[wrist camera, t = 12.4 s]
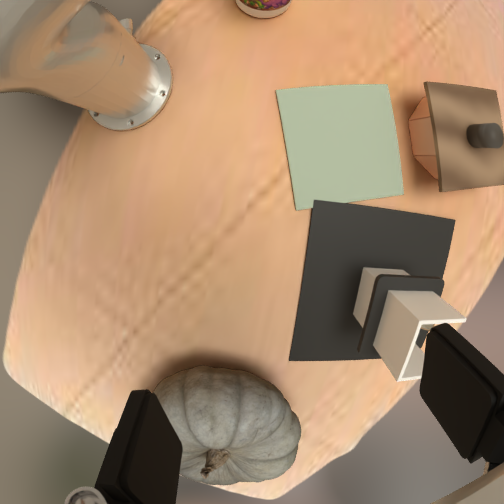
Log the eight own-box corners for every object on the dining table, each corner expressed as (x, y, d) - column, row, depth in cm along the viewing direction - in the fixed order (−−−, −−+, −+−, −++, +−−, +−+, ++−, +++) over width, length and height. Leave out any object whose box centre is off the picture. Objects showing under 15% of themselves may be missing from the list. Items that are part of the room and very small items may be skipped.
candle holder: (417, 355, 48) (461, 412, 33) (288, 360, 47) (307, 438, 31) (455, 220, 41) (527, 249, 26) (313, 199, 40) (361, 226, 24)
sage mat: (275, 91, 36) (276, 90, 36) (385, 85, 36) (387, 84, 36) (295, 209, 41) (296, 210, 40) (401, 194, 40) (403, 194, 40)
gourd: (203, 313, 41) (200, 422, 26) (320, 379, 50) (348, 463, 35) (122, 394, 48) (106, 477, 32) (229, 439, 57) (235, 510, 42)
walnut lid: (423, 82, 30) (447, 74, 25) (492, 91, 30) (516, 87, 24) (439, 191, 33) (464, 196, 28) (504, 183, 33) (528, 188, 28)
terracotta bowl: (403, 96, 37) (429, 87, 30) (463, 100, 36) (491, 95, 30) (415, 180, 40) (442, 184, 33) (473, 175, 40) (501, 179, 33)
